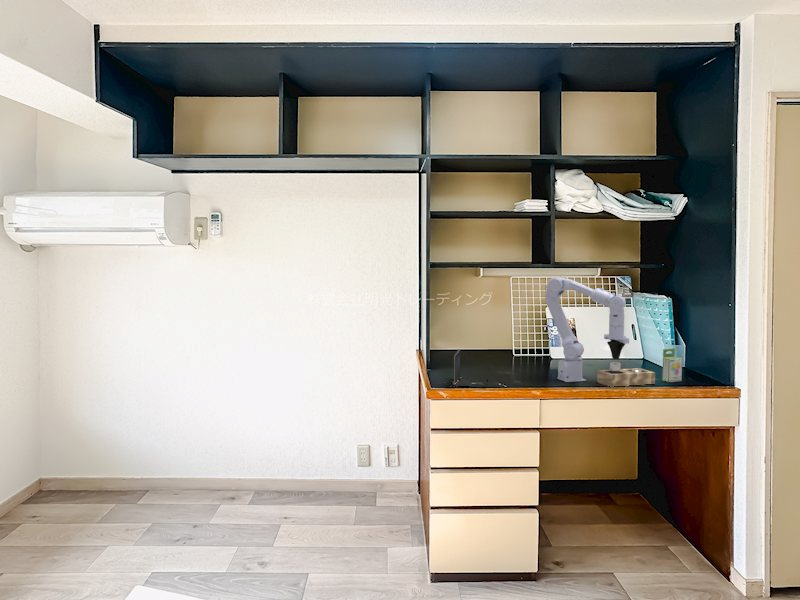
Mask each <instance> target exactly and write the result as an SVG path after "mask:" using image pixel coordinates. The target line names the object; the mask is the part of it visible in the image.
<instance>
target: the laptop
mask: <svg viewBox="0 0 800 600" xmlns="http://www.w3.org/2000/svg"><path fill="white" fill-rule="evenodd" d="M459 377H460V378H461V349H459V350H457V352H456V353H455V354H454V357H453V386H454V385H455V383H456V382H457V380H458V379H459Z"/></svg>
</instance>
